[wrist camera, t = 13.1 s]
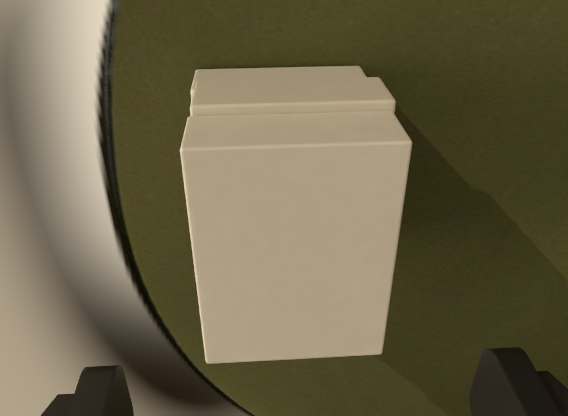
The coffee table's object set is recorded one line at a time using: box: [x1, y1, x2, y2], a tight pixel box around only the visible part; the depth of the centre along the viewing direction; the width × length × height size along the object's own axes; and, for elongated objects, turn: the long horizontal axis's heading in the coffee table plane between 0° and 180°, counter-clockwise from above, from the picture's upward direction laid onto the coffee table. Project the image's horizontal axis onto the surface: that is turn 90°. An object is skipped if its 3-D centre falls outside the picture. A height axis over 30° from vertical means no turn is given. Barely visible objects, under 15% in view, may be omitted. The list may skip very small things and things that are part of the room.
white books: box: [190, 66, 396, 116], centre depth 19 cm, size 8×6×4 cm
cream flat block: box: [180, 111, 412, 364], centre depth 16 cm, size 8×6×2 cm
